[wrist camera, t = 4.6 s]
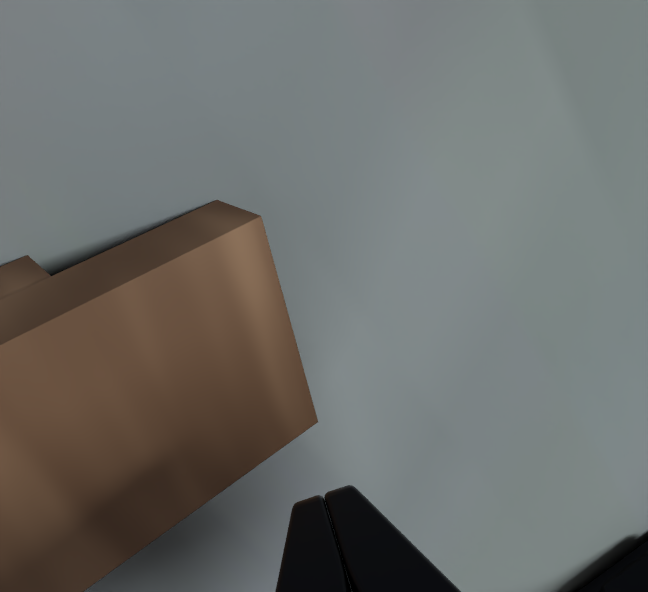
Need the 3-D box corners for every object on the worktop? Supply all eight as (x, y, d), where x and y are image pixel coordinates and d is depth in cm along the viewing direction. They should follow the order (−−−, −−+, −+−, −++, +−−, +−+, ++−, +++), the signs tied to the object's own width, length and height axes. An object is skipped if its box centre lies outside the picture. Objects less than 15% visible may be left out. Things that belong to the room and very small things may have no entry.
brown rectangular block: (260, 216, 11) (-512, 598, 6) (318, 421, 14) (-209, 802, 9) (216, 199, 12) (-465, 514, 8) (277, 392, 15) (-208, 715, 10)
